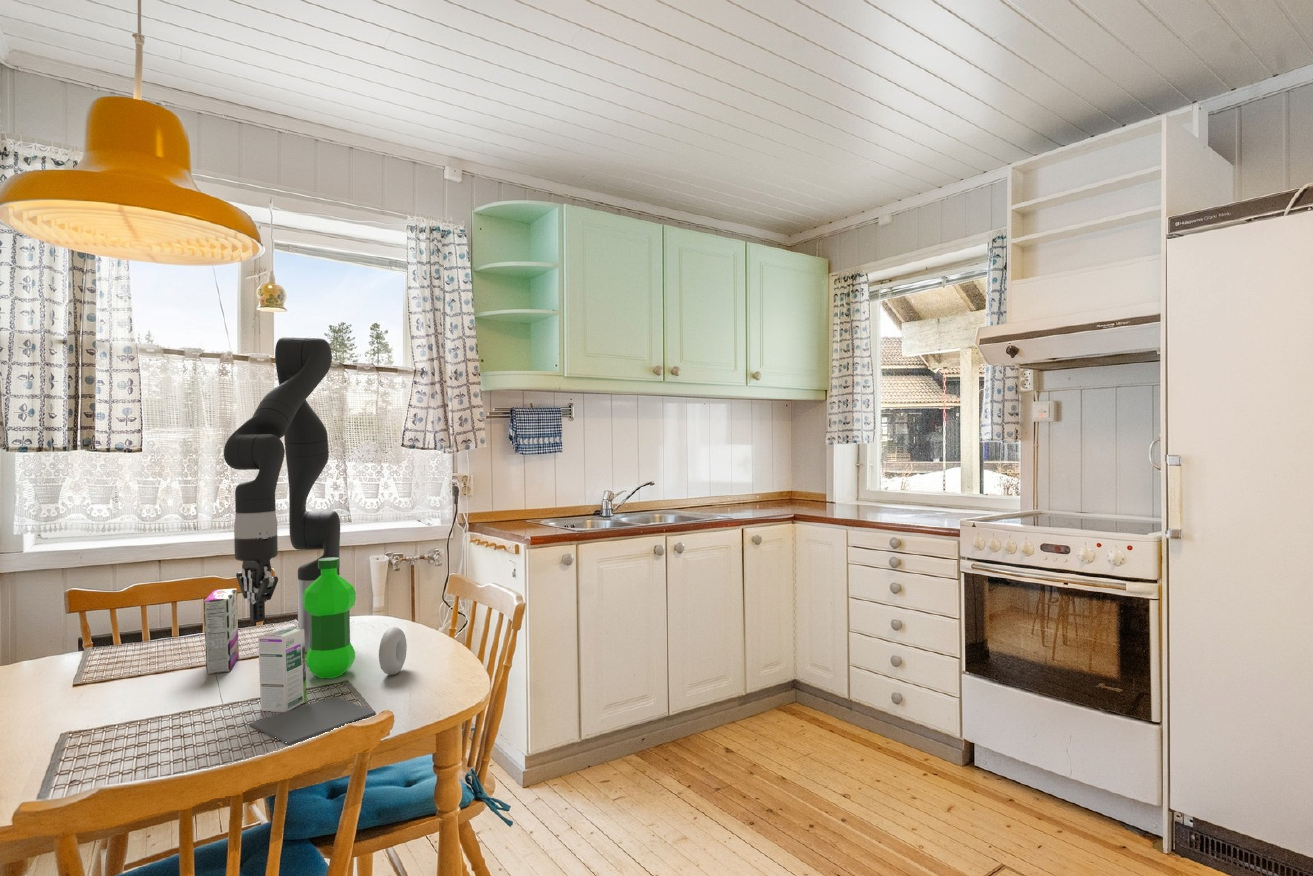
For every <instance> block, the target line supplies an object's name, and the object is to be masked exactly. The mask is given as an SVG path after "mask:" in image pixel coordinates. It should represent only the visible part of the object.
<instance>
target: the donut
mask: <svg viewBox="0 0 1313 876" xmlns="http://www.w3.org/2000/svg"><path fill="white" fill-rule="evenodd" d="M407 645H408V643H407V639H406V633H404V631H403V629H401V628H399V627H396V626H393V627H390V628H388V629H387V630H386V631H385V632H384V633H383V635H382V637H381V640H380V644H379V647H378V648H379V649H378V661H379V665H380V669H381V670H382V672H383V673H384V674H386V675H388V676H394V675H396V674H398V673H399V672H401V670H402V669H403V667H404V664H405V661H406V657H407V651H408V650H407V648H408V646H407Z"/></svg>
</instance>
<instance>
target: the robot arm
mask: <svg viewBox="0 0 1313 876" xmlns="http://www.w3.org/2000/svg"><path fill="white" fill-rule="evenodd" d="M274 348H275V350H274V361H275V370H276V375H277V381H278V386H276V387H274V388H273V389H271V390H270V391H269V392H268V393H267V394H265V396H264V397H263V398H262V400H261V401H260V402H259V405H258V406H257V407H256V409H255V411H254V413H253V414H252V417H250V418H249V419H248V420H246V421H245V422H244V423H243V424H242V425H241V426H239V427H238V428H237V429H236V430H235V431H233V433H232V434H231V435H230V436H229V438H227V441H226V442H225V445H224V446H223V447H224V448H223V459H224V461H225V463H226V464H227V466H229V467H230V468H231V469H233V470H237V471H241V470H242V471H244V470H245V471H246V470H247V471H248V470H249V471H251V470H252V471H253V470H257V471H258V473H257V474H256V475H257V476H256V477H255V479H254V480H250V481H245V482H241V483H239V484H238V485H236V486H235V490H234V492H235V493H234V495H235V496H234V499H235V500H234V501H235V502H234V505H235V506H234V507H235V509H234V510H235V512H234V513H235V514H234V516H235V517H234V522H233V523H234V525H233V528H234V529H233V531H234V532H233V533H234V534H233V535H234V538H233V541H234V543H233V545H234V559H235V560H236V561H239V562H242V565H241V568H242V569H241V571H239V572H238V571H237V572H236V574H235V576H236V579H237V583H238V585H239V589H240V591H241V595H242V596H243V599H245V600H247V603H248V604H249V621H250V622H251V623H254V624H255V623H256V624H257V623H260V622H261V623H262V622H264V621H265V620H266V617H265V615H266V614H265V613H266V611H265V609H266V608H265V606H266V605H265V603H266V602H267V601H270V600H271V599H272V597H273V594H274V593H275V590H276V587H277V585H278V582H279V578H278V576H273V575H272V564H271V560H272V559H274V558H276V557H277V556H278V554H279V553H278V551H279V548H278V545H279V544H278V518H277V511H276V510H277V509H276V508H277V507H276V505H277V504H276V490H277V485H278V481H279V477H280V476H279V475H280V473H281V470H282V466H283V463H284V460H285V461H286V462H285V463H286V469H287V478H288V480H287V481H288V495H289V498H288V499H289V500H288V501H289V503H288V504H289V505H288V506H289V508H288V511H289V512H288V516H289V517H288V521H289V524H288V525H289V526H288V527H289V528H288V529H289V540H290V543H291V546H292V547H293V549H295V550H298V551H299V550H300V551H301V550H302V551H305V550H306V551H307V550H323V554H322V555H321V556H319V557H318V558H317V559H315V560H312V561H310V562H307V563H305V564H302V565H301V566H299V567H298V569H297V591H298V592H297V593H298V594H297V595H298V596H297V600H298V601H297V602H298V608H297V628H302V629H304V639H305V653H307V651H308V649H309V648H310V614H309V613H308V612H307V611H306V610H305V608H304V605H303V594H304V591H305V589H306V588H307V587H308V586H309V585H311V584H312V583H313V582H314V581H315V580H316V579H317V578H318V577H320V576H321V569H319V568H318V560H319V559H322V558H331V557H336V558H340V545H341V544H340V543H341V520H340V516H339V513H338V512H337V511H335V510H314V511H313V510H312V511H311V510H310V511H307V508H306V507H307V500H308V497H309V494H310V492H311V490H312V489H313V486H314V485H315V483H316V481H317V480H318V478H319V477H320V475H321V474H322V472H323V471H324V470H325V467H326V465H327V463H328V461H329V455H330V454H329V453H330V452H329V439H328V437H329V435H328V431H327V429H326V426H325V425H324V423H323V422H322V420H321V419H320V417H319V416H318V414H316V412H315V410H314V409H313V407H312V406H311V405H310V404H309V403H308V401H307V398H308V397H309V396H310V395H311V394H312V393H313V392H314V390H315V389H316V388H317V387H318V386H319V384H320V383H321V382H322V381H323V380H324V378H325V377H326V375H327V374H328V372H329V370H330V368H331V366H332V360H333V353H332V352H333V351H332V348H331V346H330V343H329V341H327V339H324V338H322V337H316V336H289V335H288V336H281V337H280V338H278V340H277V341H276V344H275V347H274ZM283 437H284V438H283ZM281 438H283V439H284V443H283V441H282V439H281ZM337 574H338V575H339V576H341V573H340V567H338V568H337Z"/></svg>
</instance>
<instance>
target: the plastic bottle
mask: <svg viewBox="0 0 1313 876" xmlns="http://www.w3.org/2000/svg"><path fill="white" fill-rule="evenodd" d="M340 562H341V561H340V557H339V558H336V557H331V558H322V559H319V560H318V568H319V569H321V576H320V577H318V578H317V579H316V580H315V581H314V582H313V583H312V584H311V585H309V586H308V587H307V588H306V589H305V591H304V594H303V605H304V608H305V610H306V611H307V612H308V613H309V614H310V648H309V649H308V651H307V652H306V653H305V665H306V667H307V668H308V670H309V671H310V672H311V673H312V674H314V675H315V676H316V677H317V678H318V679H323V678H327V679H334V678H337V677H341V676H343V675H344V674H343V673H345V672H346V671H347V670H348V669H350V668H351V667H352V665H353V663H354V662H355V659H356V652H355V649H354V646H353V645H352V644H351V625H350V623H351V620H350V619H351V617H350V615H351V614H350V610H351V609H352V608H353V607H354V606H355V604H356V597H357V596H356V595H357V593H356V589H355V587H354V586H353V585H352V584H350V582H349V581H347V580H346V579H345V578H343V577H342V576H341V575H338V574H337V568H338V567H339V568H340V567H341V566H340Z"/></svg>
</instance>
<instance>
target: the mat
mask: <svg viewBox="0 0 1313 876" xmlns="http://www.w3.org/2000/svg"><path fill="white" fill-rule="evenodd" d="M373 715H376V711H374V710H371V709H369V708H367V707H364V706H361V705H359V704H356V703H354V702H351V701H348V700H346V699H344V698H341V697H338V696H336V695H333V696H330V697H327V698H324V699H322V700H318V701H315V702H312V703H309V704H305V705H302V706H299V707H295V708H293V709H291V710H289V711H286V712H283V713H282V712H279V713H278V714H277V713H276V714H274V715H271V716H268V717H265V718H262V719H259V720H258V719H257V720H255V721H252V722H249V724H248V725H249V727H252V728H253V729H255V728H256V729H255V730H257V729H258V730H257V731H259V730H260V731H259V732H261V731H262V733H263V732H265V733H266V734H265V733H264V734H265V735H267V734H268V736H269V735H270V737H271V736H272V738H273V737H276V738H278V739H279V740H282V741H284V742H287V743H288V744H286V745H287V746H290V745H292V744H296V743H298V742H300V741H304V740H306V739H309V738H311V737H312V738H313V737H315V736H317V735H320V734H323V733H326V732H329V731H331V730H330V729H332V728H335V729H337V728H339V727H338V726H340V727H342V726H341V725H343V726H345V725H344V724H345V723H349V722H351V723H353V722H352V721H353V720H357V719H360V720H363V719H365V718H368V717H371V716H373ZM364 717H365V718H364ZM362 718H363V719H362ZM357 721H358V720H357ZM349 724H350V723H349ZM336 727H337V728H336ZM332 730H333V729H332ZM322 732H323V733H322ZM308 737H309V738H308ZM279 740H278V741H279Z"/></svg>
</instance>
